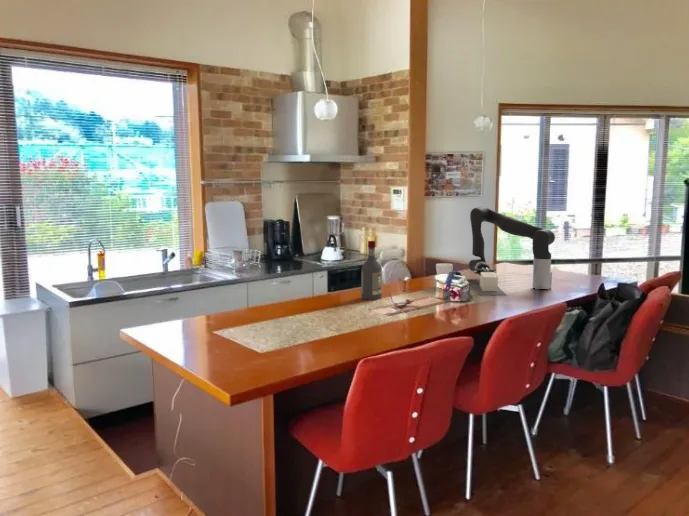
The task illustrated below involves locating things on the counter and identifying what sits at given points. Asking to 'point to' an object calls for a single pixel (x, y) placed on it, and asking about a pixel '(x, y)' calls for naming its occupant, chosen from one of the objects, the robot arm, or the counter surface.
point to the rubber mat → (479, 290)
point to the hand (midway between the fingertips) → (487, 273)
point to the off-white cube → (488, 281)
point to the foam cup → (443, 268)
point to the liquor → (371, 276)
